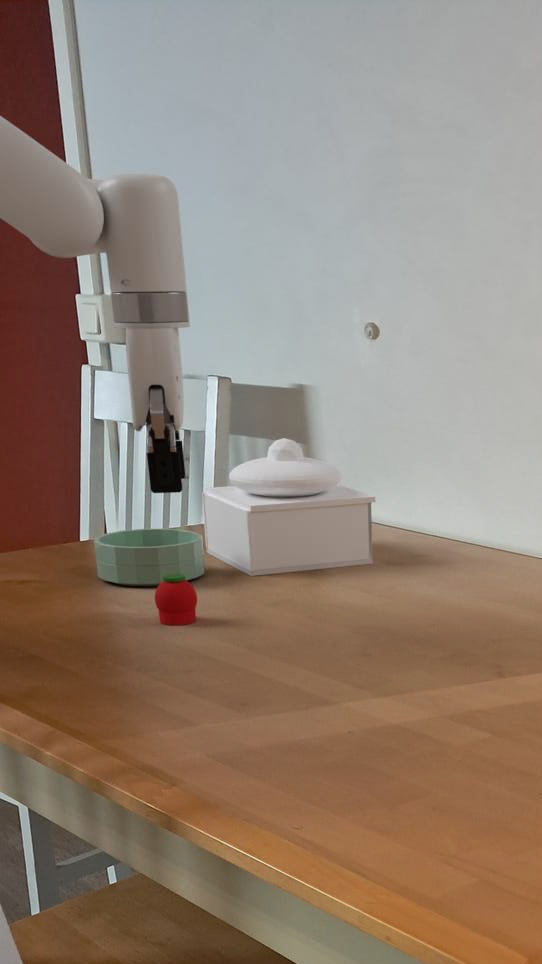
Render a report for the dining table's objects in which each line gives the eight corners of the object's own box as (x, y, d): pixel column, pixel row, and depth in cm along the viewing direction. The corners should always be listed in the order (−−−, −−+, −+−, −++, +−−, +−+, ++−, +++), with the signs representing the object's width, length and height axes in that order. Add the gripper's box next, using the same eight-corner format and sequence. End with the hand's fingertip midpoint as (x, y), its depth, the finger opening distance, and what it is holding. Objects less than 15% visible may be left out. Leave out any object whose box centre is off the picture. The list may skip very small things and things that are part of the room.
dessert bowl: (94, 589, 156) (89, 548, 154) (103, 568, 168) (99, 529, 166) (204, 586, 158) (200, 546, 156) (205, 565, 170) (202, 527, 168)
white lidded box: (206, 552, 178) (197, 434, 172) (325, 542, 186) (320, 428, 180) (250, 576, 164) (242, 447, 158) (376, 563, 172) (373, 441, 166)
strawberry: (155, 626, 140) (151, 581, 138) (157, 616, 144) (153, 572, 142) (198, 625, 141) (194, 579, 139) (199, 615, 145) (195, 571, 143)
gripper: (119, 310, 137) (138, 475, 144) (105, 314, 121) (127, 499, 128) (190, 309, 138) (205, 473, 145) (186, 313, 122) (203, 496, 129)
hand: (169, 485), depth 136 cm, fingers open, 9 cm apart
